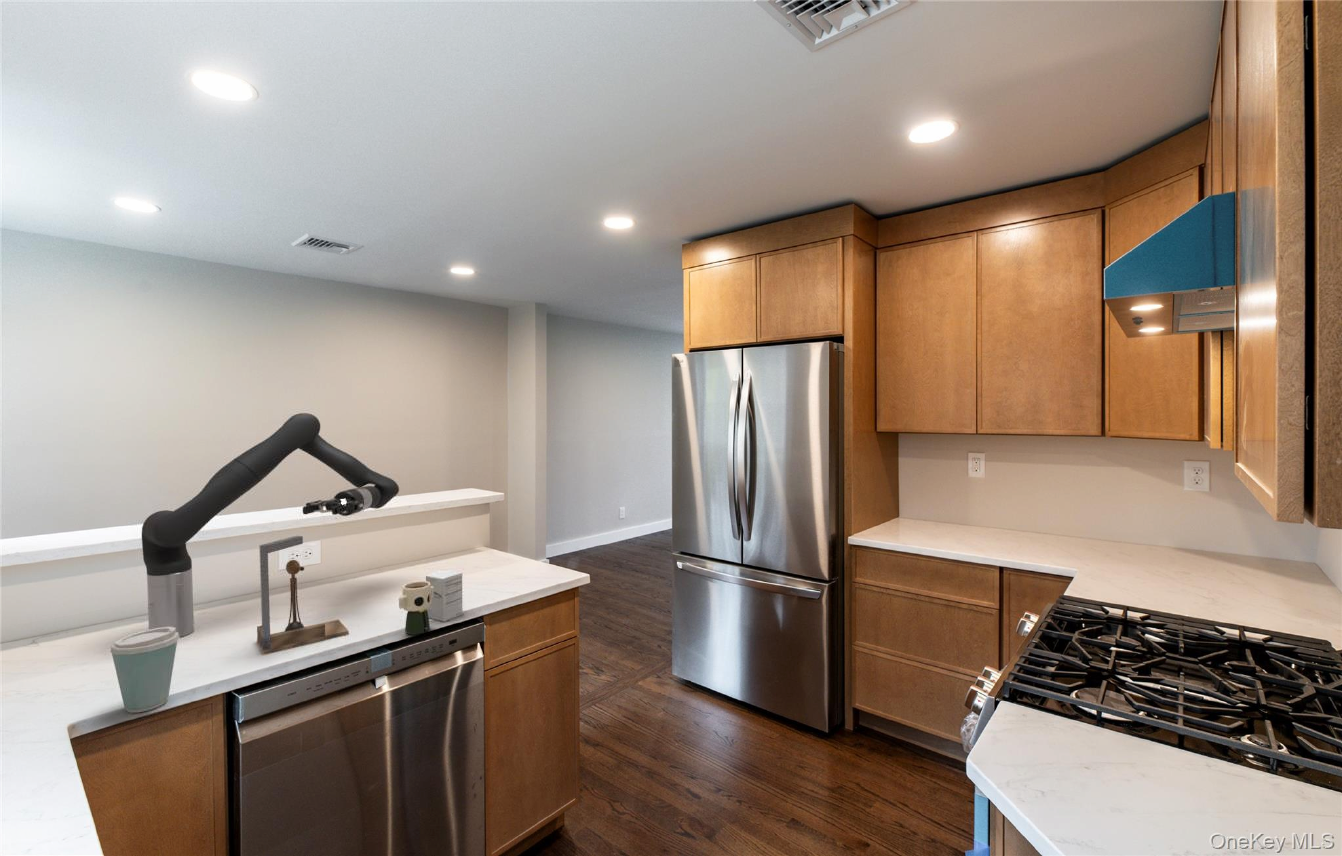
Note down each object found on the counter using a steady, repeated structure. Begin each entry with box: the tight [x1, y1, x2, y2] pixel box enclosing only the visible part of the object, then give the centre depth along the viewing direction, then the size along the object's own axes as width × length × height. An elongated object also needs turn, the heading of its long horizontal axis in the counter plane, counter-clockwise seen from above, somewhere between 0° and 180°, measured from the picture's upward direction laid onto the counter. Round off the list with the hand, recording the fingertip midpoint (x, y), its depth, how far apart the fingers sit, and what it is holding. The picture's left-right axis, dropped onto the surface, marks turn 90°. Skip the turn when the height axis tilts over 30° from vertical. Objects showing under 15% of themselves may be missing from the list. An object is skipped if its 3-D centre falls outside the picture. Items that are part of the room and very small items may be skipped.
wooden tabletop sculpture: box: [284, 559, 305, 632], centre depth 156 cm, size 6×5×20 cm
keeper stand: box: [256, 535, 350, 655], centre depth 156 cm, size 19×11×27 cm, turn 132°
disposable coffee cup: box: [110, 627, 181, 714], centre depth 122 cm, size 11×11×15 cm
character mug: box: [398, 580, 434, 635], centre depth 161 cm, size 11×7×13 cm, turn 152°
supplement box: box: [425, 569, 463, 623], centre depth 173 cm, size 7×7×13 cm
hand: (318, 510), depth 166 cm, fingers open, 8 cm apart
